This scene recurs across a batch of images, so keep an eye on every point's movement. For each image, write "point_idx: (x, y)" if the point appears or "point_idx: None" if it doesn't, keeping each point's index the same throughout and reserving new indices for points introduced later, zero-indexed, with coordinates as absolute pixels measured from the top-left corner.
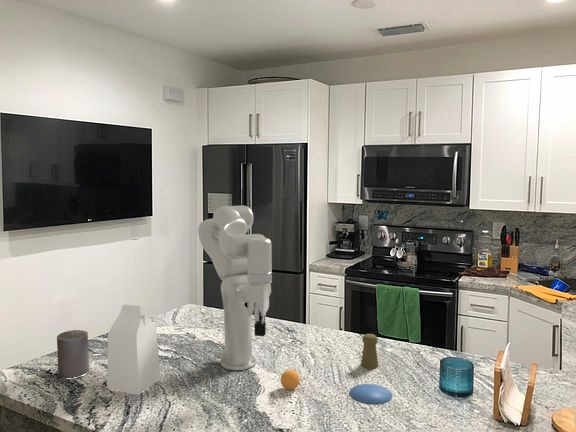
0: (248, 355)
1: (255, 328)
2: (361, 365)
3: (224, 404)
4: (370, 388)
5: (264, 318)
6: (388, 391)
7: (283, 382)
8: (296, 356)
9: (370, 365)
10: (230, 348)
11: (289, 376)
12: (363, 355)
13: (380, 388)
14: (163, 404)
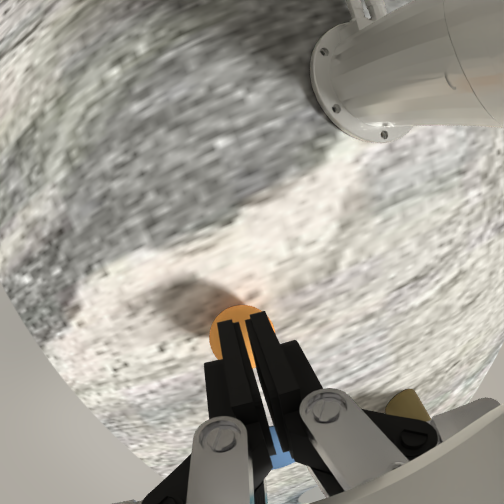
0: (380, 120)
1: (226, 369)
2: (398, 394)
3: (60, 177)
4: None
5: (317, 481)
6: (289, 462)
7: (212, 328)
8: (444, 246)
9: (389, 414)
10: (363, 44)
11: (221, 357)
12: (408, 412)
13: None
14: (23, 24)
